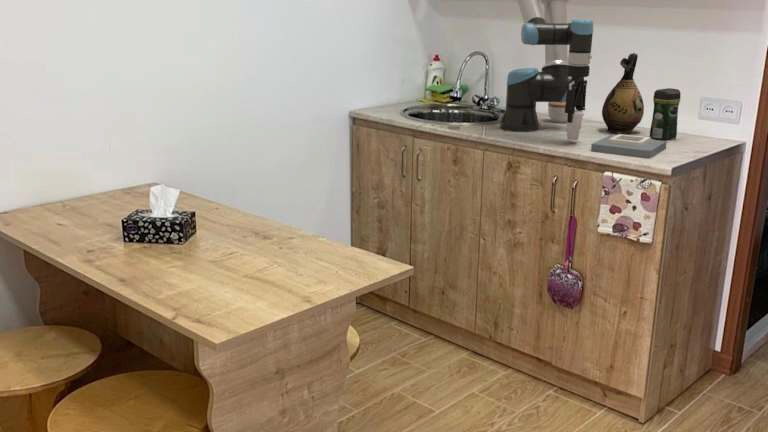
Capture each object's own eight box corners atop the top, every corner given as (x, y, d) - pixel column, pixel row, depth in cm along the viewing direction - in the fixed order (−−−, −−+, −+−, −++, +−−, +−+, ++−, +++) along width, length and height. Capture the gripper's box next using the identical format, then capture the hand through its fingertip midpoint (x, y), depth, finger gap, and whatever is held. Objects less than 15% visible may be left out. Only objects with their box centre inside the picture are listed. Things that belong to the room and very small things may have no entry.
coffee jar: (662, 135, 294) (667, 86, 288) (679, 138, 287) (685, 88, 282) (645, 137, 289) (650, 88, 283) (662, 141, 282) (668, 90, 277)
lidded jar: (547, 118, 328) (549, 96, 325) (573, 120, 325) (575, 97, 322) (546, 123, 318) (547, 100, 315) (572, 124, 315) (574, 101, 312)
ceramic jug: (635, 137, 290) (644, 56, 281) (595, 132, 298) (602, 53, 289) (647, 130, 304) (655, 52, 295) (608, 126, 312) (615, 50, 303)
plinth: (590, 150, 265) (591, 139, 264) (609, 141, 281) (610, 130, 280) (649, 158, 254) (651, 146, 253) (665, 148, 270) (667, 137, 269)
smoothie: (561, 137, 280) (564, 98, 276) (578, 136, 281) (581, 98, 277) (566, 140, 274) (569, 101, 270) (584, 140, 275) (587, 101, 270)
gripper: (579, 68, 260) (573, 135, 267) (598, 63, 275) (592, 126, 282) (558, 66, 264) (553, 132, 271) (578, 61, 279) (573, 124, 286)
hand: (573, 129), depth 277 cm, fingers closed on smoothie, 6 cm apart
